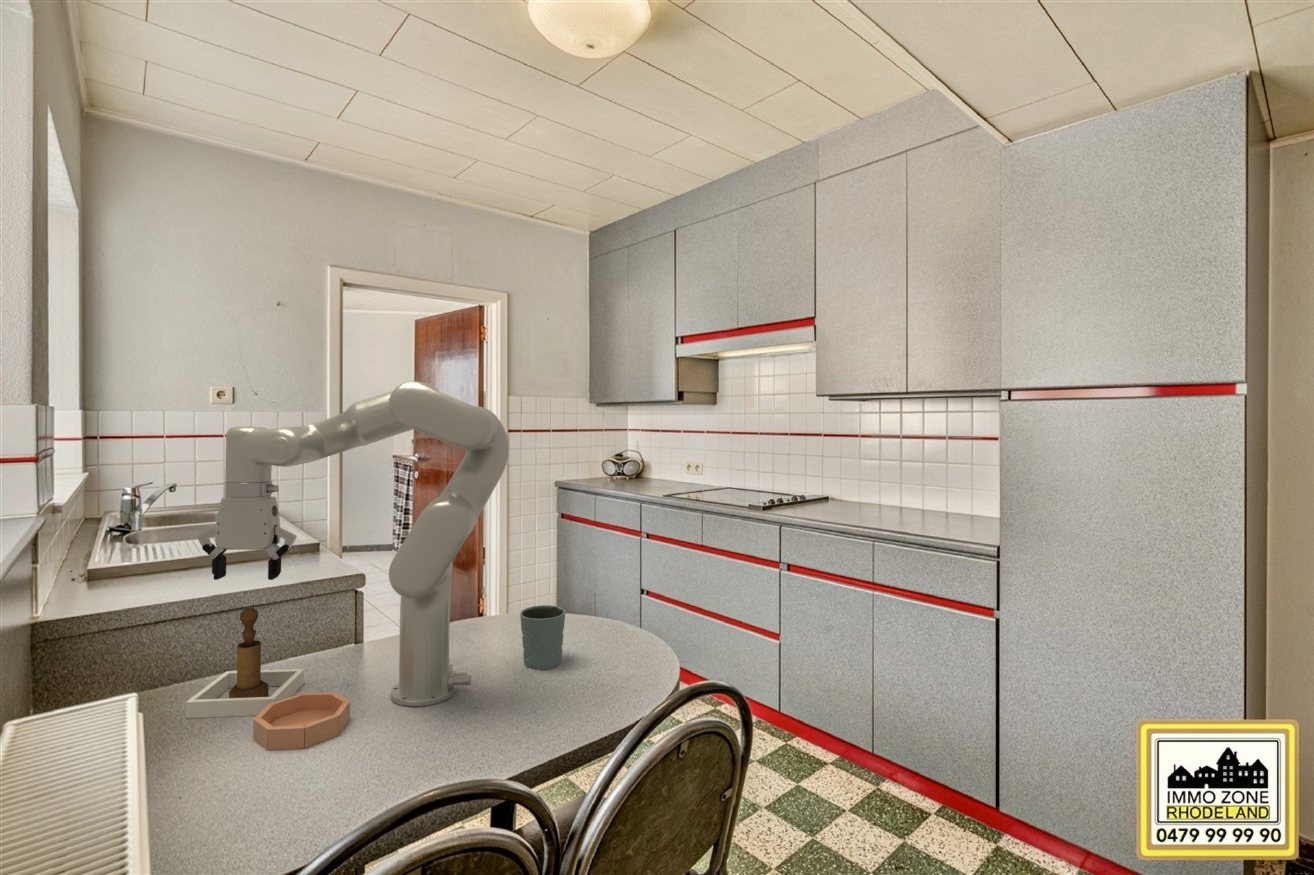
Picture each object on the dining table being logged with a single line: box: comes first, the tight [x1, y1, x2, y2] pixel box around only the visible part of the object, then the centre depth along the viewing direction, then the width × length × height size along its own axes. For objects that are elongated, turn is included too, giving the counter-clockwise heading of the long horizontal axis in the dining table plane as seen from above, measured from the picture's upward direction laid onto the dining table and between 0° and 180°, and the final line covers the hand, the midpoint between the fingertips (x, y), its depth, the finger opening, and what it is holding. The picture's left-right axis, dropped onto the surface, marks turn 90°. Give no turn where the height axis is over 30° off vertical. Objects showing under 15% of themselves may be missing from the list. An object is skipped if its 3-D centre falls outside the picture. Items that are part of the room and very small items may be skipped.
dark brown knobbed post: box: [228, 607, 270, 698], centre depth 124 cm, size 7×6×18 cm
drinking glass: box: [519, 604, 566, 671], centre depth 146 cm, size 10×10×12 cm
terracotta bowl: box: [252, 691, 351, 751], centre depth 114 cm, size 14×14×4 cm
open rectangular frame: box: [185, 668, 305, 719], centre depth 124 cm, size 15×14×3 cm
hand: (246, 578), depth 123 cm, fingers open, 9 cm apart
